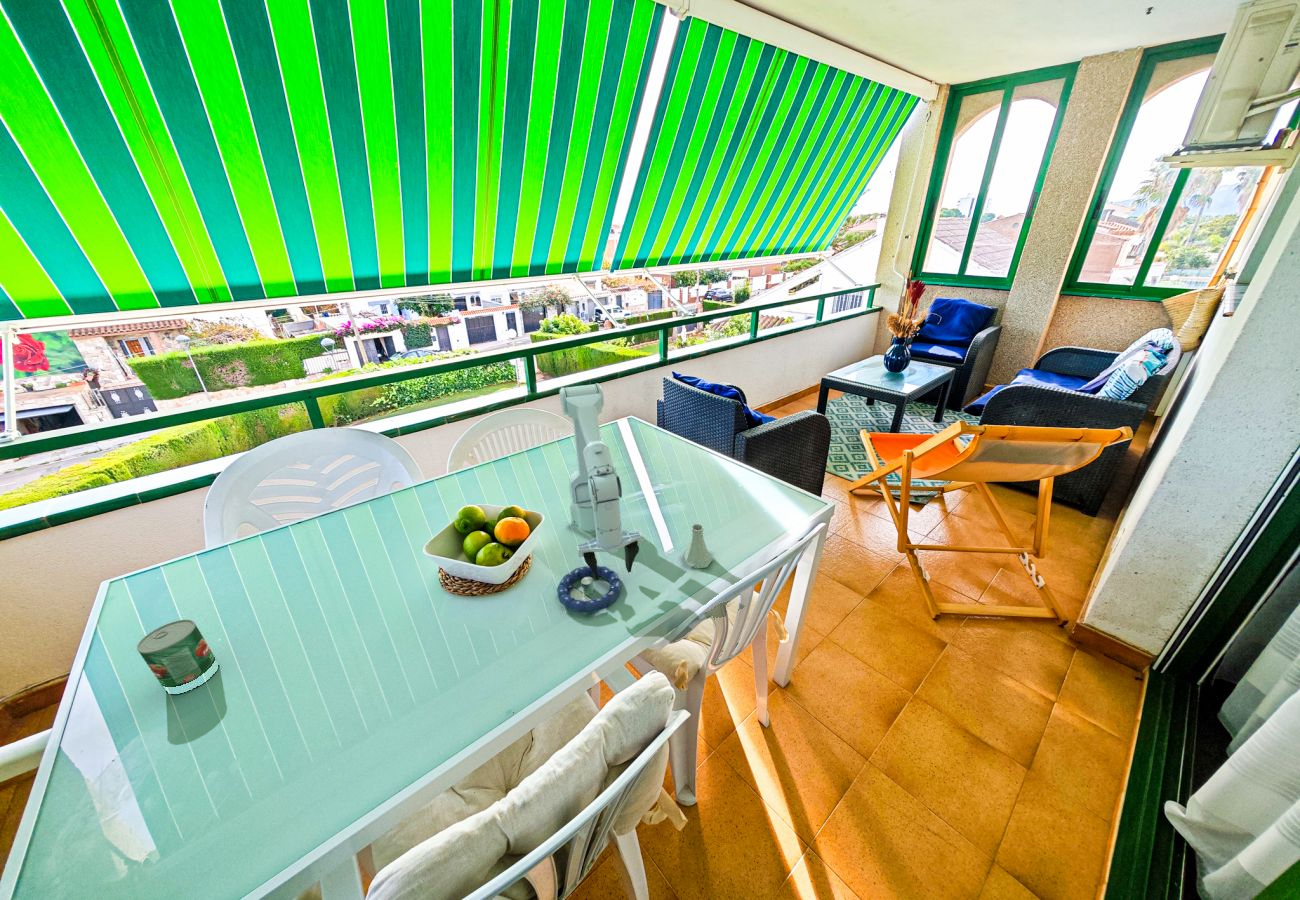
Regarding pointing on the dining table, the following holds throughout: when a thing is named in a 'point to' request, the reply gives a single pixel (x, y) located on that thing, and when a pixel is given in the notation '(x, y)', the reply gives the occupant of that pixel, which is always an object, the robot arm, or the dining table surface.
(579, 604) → the ring
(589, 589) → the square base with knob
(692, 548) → the flask
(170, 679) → the canned tomato
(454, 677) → the dining table surface
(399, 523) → the dining table surface
